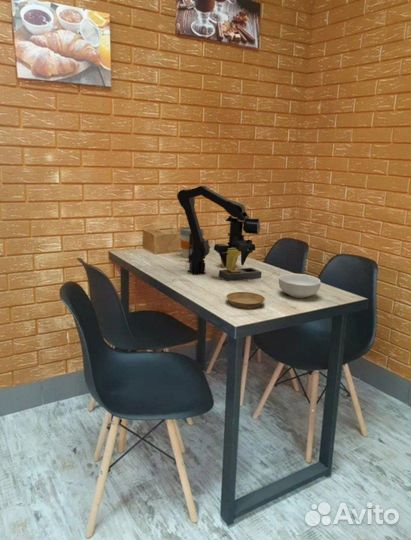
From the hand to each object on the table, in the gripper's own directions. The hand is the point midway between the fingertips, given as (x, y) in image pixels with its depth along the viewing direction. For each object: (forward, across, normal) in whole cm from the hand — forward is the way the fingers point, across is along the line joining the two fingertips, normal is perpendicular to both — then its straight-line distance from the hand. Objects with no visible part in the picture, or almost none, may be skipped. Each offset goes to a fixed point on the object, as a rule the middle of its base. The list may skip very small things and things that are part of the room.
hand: (233, 265), depth 207 cm
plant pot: (+6, +9, +19) cm, 22 cm away
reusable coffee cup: (+6, 0, +44) cm, 44 cm away
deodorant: (+6, -4, +32) cm, 33 cm away
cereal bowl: (+6, +13, -31) cm, 34 cm away
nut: (+6, 0, 0) cm, 6 cm away
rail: (+6, +4, 0) cm, 7 cm away
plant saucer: (+6, -14, -33) cm, 36 cm away
